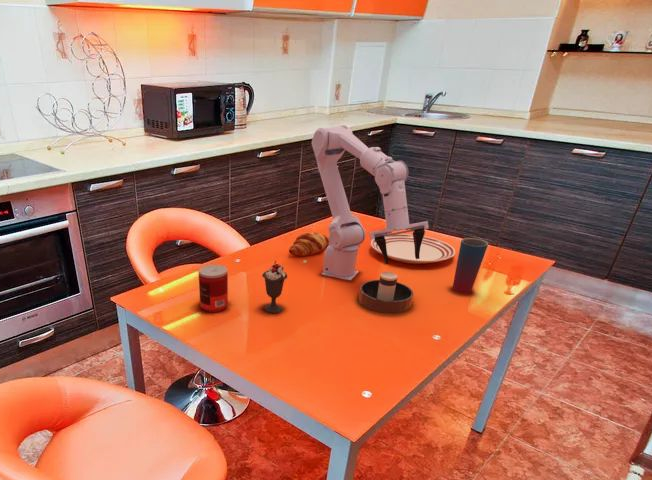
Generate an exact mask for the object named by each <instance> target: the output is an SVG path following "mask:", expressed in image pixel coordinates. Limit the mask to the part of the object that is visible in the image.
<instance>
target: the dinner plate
mask: <svg viewBox="0 0 652 480" xmlns="http://www.w3.org/2000/svg"><path fill="white" fill-rule="evenodd" d="M384 238H385V240H386V249H387V255H388V259H391V260H394V261H396V262H399V263H406V264H412V265H413V264H415V265H422V264H423V265H425V264H432V263H439V262H442V261H443V262H444V261H447V260H449V259H451V258H453V257H454V256H455V255H456V249H455V248H454V247H453V246H452V245H450V244H449V243H448V242H446V241H443V240H440V239H437V238H433V237H430V236H425V235H424V237H423V240H422V243H421V247H420V254H419V259H416V258H415V246H414V239H413V234H409V233H402V234H397V235H391V236H386V237H384ZM370 246H371V248H372V249H373V250H374V251H375V252H377V253H379V254H380V255H382V256H383V254H382V252H381V250H380V248H379V246H378V245H377V243H376V242H375V239H371V240H370Z"/></svg>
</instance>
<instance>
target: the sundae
mask: <svg viewBox="0 0 652 480" xmlns="http://www.w3.org/2000/svg"><path fill="white" fill-rule="evenodd" d="M261 276H262V278H264V284H265V292H266V294H267V296H268V297H269V298H270V299H271V300H270V304H267V305H265V306H264V308H263V309H264V310H265V312H267V313H269V314H278V313H280V312H282V311H283V307H282V306H281V305H278V304H277V299H278V298H279V297H280V296H281V295H282V292H283V289H284V288H283V287H284V283H285V280H286V279H288V274H287V272H286V271H284V267H283V266H281V264H279V263H277V260H274V263H273V265H271V267H269V269H268V270H266V271H265V272H263V273H262V275H261Z"/></svg>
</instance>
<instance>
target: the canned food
mask: <svg viewBox="0 0 652 480" xmlns="http://www.w3.org/2000/svg"><path fill="white" fill-rule="evenodd" d="M228 278H229V274H228V268H227V267H226V266H225V265H222V264H206V265H203V266H201V267H200V268H199V269H198V288H199V305H200V308H201V310H203V311H205V312H206V313H207V312H208V313H219V312H222V311H224V310H226V308H227V307H228V303H229V288H228V287H229V283H228V282H229V279H228Z"/></svg>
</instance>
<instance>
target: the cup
mask: <svg viewBox="0 0 652 480" xmlns="http://www.w3.org/2000/svg"><path fill="white" fill-rule="evenodd" d="M488 246H489V242H488V241H486V240H484V239H482V238H477V237H465V238H462V239H461V240H460V245H459V251H458V256H457V260H456V261H457V262H456V267H455V272H454V278H453V283H452V288H451V289H452V291H454V292H455V293H458V294H462V295H463V294H465V295H467V294H470V293H472V290H473V288H474V285H475V282H476V280H477V277H478V274H479V271H480V269H481V265H482V263H483V260H484V257H485V254H486V253H487V249H488Z"/></svg>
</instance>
